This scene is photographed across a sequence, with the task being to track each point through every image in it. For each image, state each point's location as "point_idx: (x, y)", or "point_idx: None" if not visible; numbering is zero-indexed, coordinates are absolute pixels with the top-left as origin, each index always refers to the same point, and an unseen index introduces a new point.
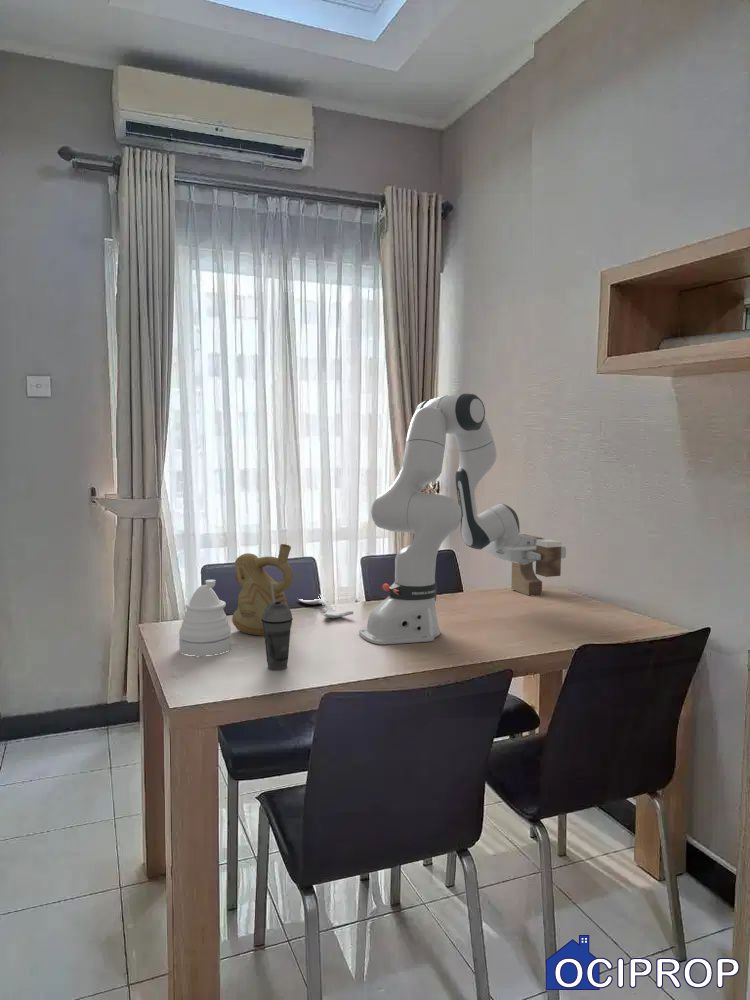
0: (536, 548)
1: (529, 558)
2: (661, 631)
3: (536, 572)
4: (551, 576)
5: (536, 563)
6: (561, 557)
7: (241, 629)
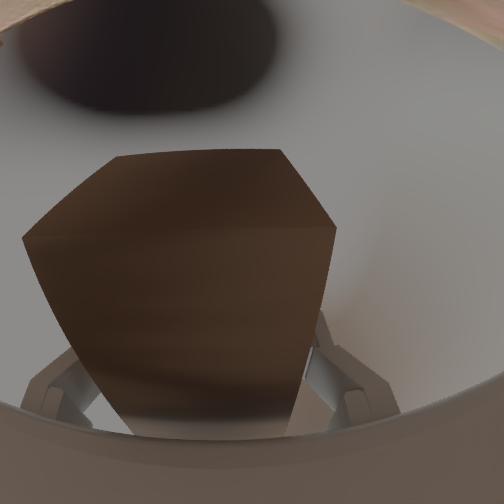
0: (134, 432)
1: (37, 378)
2: (464, 22)
3: (41, 249)
4: (171, 152)
5: (83, 351)
6: (481, 382)
7: None
